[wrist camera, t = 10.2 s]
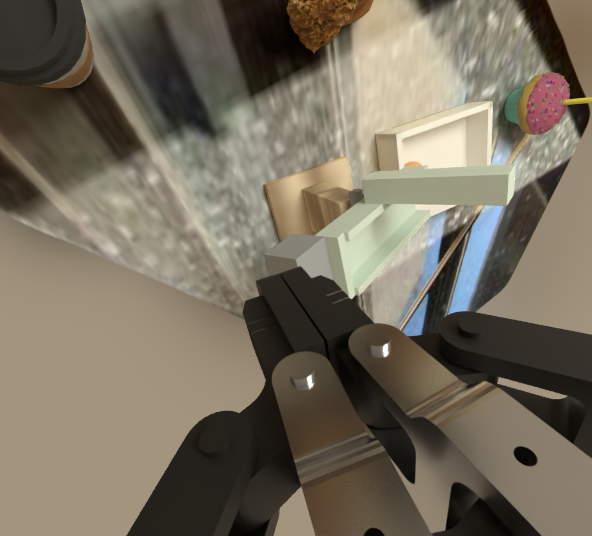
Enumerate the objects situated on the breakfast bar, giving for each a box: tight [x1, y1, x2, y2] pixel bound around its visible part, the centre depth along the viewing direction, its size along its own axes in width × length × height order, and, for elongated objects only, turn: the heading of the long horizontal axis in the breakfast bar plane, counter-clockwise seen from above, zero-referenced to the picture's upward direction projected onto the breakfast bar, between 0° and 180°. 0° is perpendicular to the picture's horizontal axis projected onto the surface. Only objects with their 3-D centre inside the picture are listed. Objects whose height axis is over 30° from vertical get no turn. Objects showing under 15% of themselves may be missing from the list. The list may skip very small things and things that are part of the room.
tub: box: [375, 101, 493, 217], centre depth 49 cm, size 16×13×4 cm
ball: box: [404, 161, 422, 167], centre depth 48 cm, size 4×4×4 cm
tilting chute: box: [264, 164, 516, 299], centre depth 31 cm, size 23×10×16 cm, turn 105°
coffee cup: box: [0, 0, 94, 88], centre depth 24 cm, size 8×8×15 cm
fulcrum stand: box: [264, 156, 364, 242], centre depth 42 cm, size 12×10×11 cm
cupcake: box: [504, 72, 592, 135], centre depth 49 cm, size 9×8×12 cm
